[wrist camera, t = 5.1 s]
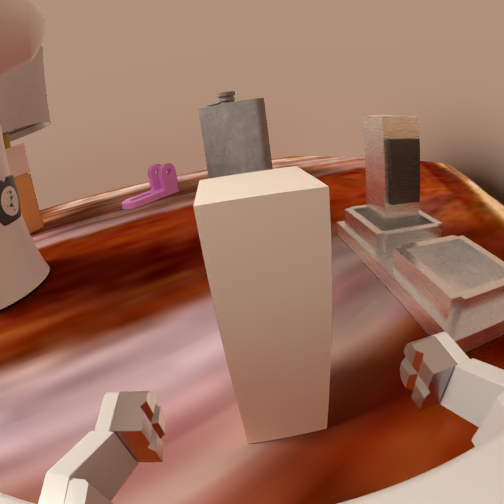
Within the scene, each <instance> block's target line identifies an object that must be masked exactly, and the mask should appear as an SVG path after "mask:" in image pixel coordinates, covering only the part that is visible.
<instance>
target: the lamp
mask: <svg viewBox="0 0 504 504" xmlns="http://www.w3.org/2000/svg"><path fill="white" fill-rule="evenodd" d="M50 123H51V121H50V118H49V110H48V103H47V95H46V87H45V77H44V65H43V47H42V46H41V47H40V49H39V51H38V52H37V54H36V55H35V57H34V58H33V59H32V61H30V62H28V63H26V64H24V65H22V66H21V67H19V68H17V69H15V70H13V71H11V72H9V73H7V74H5V75H3V76H1V77H0V125H1V127H2V134H3V140H4V146H5V151H6V157H7V162H8V166H9V171H10V175H13V176H14V180H15V184H16V187H17V191H18V195H19V200H20V207H21V214H22V216H23V219H24V222H25V224H26V226H27V229H28V231H29V233H30V234H31V233H33V232H35V231H37V230H39V229H41V228H44V224H43V221H42V217H41V214H40V210H39V207H38V204H37V199H36V195H35V192H34V187H33V184H32V179H31V175H30V174H28V172H29V171H30V170H29V166H28V161H27V156H26V151H25V146H24V143H22V144H19V145H16V146H13V147H11V146H10V141H13V140H16V139H18V138H21V137H23V136H26V135H28V134H31V133H33V132H36V131H38V130H40V129H42V128H45V127H46V126H48V125H50ZM10 175H8V176H10ZM5 177H7V176H5ZM5 177H3V178H5ZM0 179H2V178H0Z"/></svg>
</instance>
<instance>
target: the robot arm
mask: <svg viewBox="0 0 504 504" xmlns="http://www.w3.org/2000/svg"><path fill="white" fill-rule="evenodd" d="M44 34H45V19H44V15H43V13H42V11H41V9H40V8H39V6H38V5H37V4H36V3H34V2H33V1H31V0H0V77H1V76H3V75H5V74H7V73H9V72H11V71H13V70H15V69H17V68H19V67H21V66H22V65H24V64H26V63H28V62H30V61H32V59H33V58H34V57H35V55H36V54H37V52H38V51H39V49H40V47H41V44H42V42H43V38H44ZM8 175H10V171H9V166H8V162H7V157H6V151H5V146H4V140H3V134H2V127H1V125H0V178H2V179H0V310H1V309H3V308H5V307H7V306H9V305H11V304H13V303H14V302H16V301H18V300H19V299H21V298H23V297H24V296H26V295H27V294H28V293H30V292H31V291H32V290H34V289H35V288H36V287H37V286H38V285H39V284H41V283H42V281H43V280H44V279H45V278H46V277H47V275H48V273H49V271H50V267H49V265H48V264H47V263H46V261H45V260H44V259H43V257H42V256H41V254H40V252H39V251H38V249H37V247H36V245H35V243H34V241H33V239H32V237H31V235H30V233H29V231H28V229H27V226H26V224H25V222H24V219H23V216H22V214H21V207H20V200H19V195H18V191H17V187H16V184H15V180H14V176H13V175H10V176H8ZM5 176H7V177H5ZM3 177H5V178H3ZM403 353H404V354H405V356H406V357H405V358H404V360H403V361H402V362H401V366H400V376H401V380H402V382H403V384H404V386H405V388H407V389H409V390H411V391H412V396H411V398H412V399H413V401H414V402H415V404H416V406H417V407H418V409H419V411H420V410H423V409H425V408H428V407H431V406H433V405H436V404H438V403H440V404H441V405H442V406H444V407H446V408H447V409H449V410H451V411H452V412H454V413H456V414H457V415H459V416H461V417H462V418H464V419H466V420H467V421H469V422H471V423H472V424H474V425H476V426H477V427H479V428H478V430H477V431H476V433H475V434H474V436H473V438H472V442H473V444H474V446H475V447H474V448H472V449H471V450H469V451H467V452H465V453H463V454H461V455H460V456H458V457H456V458H454V459H452V460H450V461H448V462H446V463H444V464H442V465H440V466H438V467H436V468H433V469H431V470H429V471H427V472H425V473H422V474H420V475H418V476H416V477H413V478H411V479H408V480H406V481H403V482H401V483H398V484H396V485H393V486H390V487H388V488H385V489H382V490H379V491H376V492H373V493H370V494H367V495H364V496H361V497H358V498H355V499H351V500H348V501H344V502H341V503H337V504H504V370H503V369H500V368H498V367H495V366H492V365H490V364H487V363H485V362H482V361H479V360H477V359H474V358H473V359H469V357H468V356H467V355H466V354H465V353H464V352H463V350H462V349H461V348H460V347H459V346H458V345H457V344H456V342H455V341H454V340H453V339H452V338H451V337H450V336H449V335H448V333H446V332H444V331H443V332H441V333H438V334H435V335H432V336H429V337H426V338H423V339H420V340H417V341H414V342H411V343H408V344H407V345H406V346H405V348H404V352H403ZM155 400H156V398H155V396H154V394H153V393H152V392H151V391H137V392H107V393H106V394H105V395H104V398H103V402H102V405H101V409H100V412H99V416H98V420H97V423H96V427H95V431H90V432H89V433H88V434H87V435H86V436H85V437H84V438H83V439H82V440H81V441H79V442H78V443H77V444H76V445H75V446H74V447H73V448H72V449H71V450H70V451H69V452H68V453H67V454H66V455H65V456H64V457H62V458H61V459H60V460H59V461H58V462H57V463H56V464H55V465H54V466H53V467H52V468H51V469H50V470H49V471H47V473H46V476H45V480H44V484H43V487H42V491H41V495H40V499H39V503H38V504H113V503H112V502H111V500H112V499H113V497H114V496H115V495H116V493H117V492H118V491H119V489H120V488H121V487H122V485H123V484H124V483H125V481H126V480H127V478H128V477H129V476H130V474H131V473H132V472H133V470H134V469H135V467H136V466H137V465H138V462H163V450H164V444H163V443H162V441H161V438H162V436H163V435H164V434H165V419H164V415H163V412H162V410H161V408H160V407H159V406H157V405H156V404H155ZM0 504H34V503H31V502H28V501H24V500H21V499H18V498H15V497H12V496H9V495H6V494H3V493H0Z"/></svg>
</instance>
